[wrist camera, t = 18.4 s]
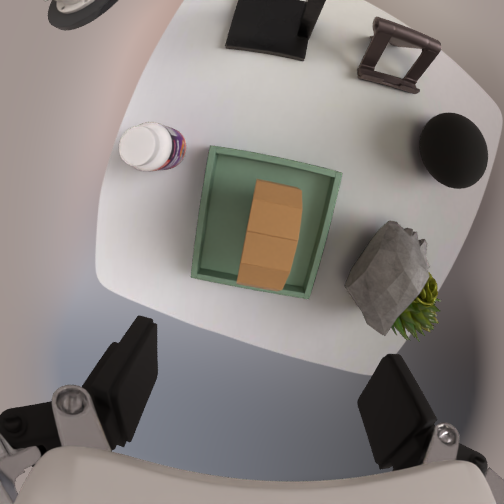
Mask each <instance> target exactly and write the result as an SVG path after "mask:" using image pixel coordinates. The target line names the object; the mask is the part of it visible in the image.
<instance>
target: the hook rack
mask: <svg viewBox="0 0 504 504" xmlns="http://www.w3.org/2000/svg"><path fill="white" fill-rule="evenodd" d="M325 1H326V0H306V2H305V1H300V0H238V3H237V6H236V10H235V13H234V16H233V20H232V23H231V27H230V30H229V34H228V37H227V41H226V45H225V46H226V48H229V49H238V50H246V51H253V52H260V53H266V54H272V55H277V56H282V57H287V58H292V59H297V60H301V61H304V59H305V55H306V49H307V44H308V40H309V38H310V35H311V33H312V31H313V28H314V26H315V24H316V22H317V19H318V17H319V15H320V12H321V10H322V8H323V6H324V3H325Z"/></svg>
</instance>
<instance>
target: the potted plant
mask: <svg viewBox="0 0 504 504" xmlns="http://www.w3.org/2000/svg"><path fill="white" fill-rule="evenodd" d="M426 252H427V242H426V240H425V239H421V240H418V235H417V232H413V229H410V228H405V229H403V228H402V227H401V226H400V225H399V224H398V223H397V222H394V221H388V222H387V223H386V224H385V225H384V226H383V227H382V228H380V229H379V231H378V232H377V233H376V235H375V236H374V237H373V238H372V240H371V241H370V243H369V244H368V246H367V247H366V249H365V250H364V252H363V253H362V255H361V256H360V257H359V259H358V260H357V262H356V263H355V265H354V266H353V268H352V269H351V272H350V274H349V277H348V279H347V281H346V284H345V287H346V289H347V290H348V292H349V293H350V295H351V296H352V298H353V299H354V300H355V302H356V303H357V305H358V306H359V308H360V309H361V311H362V314H363V316H364V318H365V321H366V323H367V324H368V325H369V326H371V327H372V328H373V329H375V330H376V331H377V332H379V333H380V334H382V335H384V336H385V335H386V334H387V333H388V331H389V330H390V328H392V329H393V331H394V333H395V334H396V331H395V328H396V329H397V330H398V331H399V332H400V334H401V335H402V336H403V337H404V338H405V339H406V340H407V339H409V338H408V336H407V335H406V331H405V328H406V329H407V331H408V332H410V333H411V334H412V335H413V336H414V337H416V338H417V339H418V337H417V333H416V330H417V331H418V332H419V333H421V334H423V335H424V333H423V331H422V329H423V330H426V331H428V332H430V329H432V330H433V327H432V326H434V325H432V324H431V323H439V322H438V320H437V319H436V317H435V316H434V315H437V314H436V313H435V312H437V311H440V310H439V309H438V308H437V307H436V306H435V304H434V303H436V302H435V301H440V300H439V299H438V298H436V297H437V295H438V291H437V283H436V281H435V279H434V278H433V277H432V275H431V274H430V273H429V272H428V269H429V267H430V265H429V263H428V261H427V258H426ZM394 327H395V328H394ZM396 335H397V334H396ZM424 336H425V335H424ZM409 340H410V339H409ZM418 341H419V339H418Z"/></svg>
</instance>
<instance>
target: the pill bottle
mask: <svg viewBox="0 0 504 504" xmlns="http://www.w3.org/2000/svg"><path fill="white" fill-rule="evenodd" d="M186 149H187V145H186V141H185V138H184V137H183V135H182V134H181V133H180V132H179V131H177V130H175V129H173V128H170V127H167V126H164V125H161V124H159V123H155V122H146V123H142V124H140V125H138V126H135V127H132V128H130V129H128V130H127V131H126V132H125V133H124V134H123V136H122V137H121V140H120V143H119V153H120V156H121V158H122V160H123V161H124V162H125V163H127V164H129V165H131V166H133V167H134V168H136V169H138V170H140V171H155V170H165V169H171V168H173V167H175V166H177V165H178V164H179V163H180V162H181V161H182V160H183V158H184V157H185V154H186Z"/></svg>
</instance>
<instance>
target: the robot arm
mask: <svg viewBox="0 0 504 504" xmlns="http://www.w3.org/2000/svg"><path fill="white" fill-rule="evenodd" d="M44 1H48V0H44ZM55 1H57V9H58V10H59V11H60V12H62V13H65V14H69V13H74V12H77V11H79V10H81V9H83V8H85V7H86V6H88V5H89V4H91V3H92V2H94V1H95V0H55ZM157 375H158V361H157V324H156V323H153V319H151V318H147V317H143V316H138V317H137V318H136V319H135V321H134V322H133V323H132V325H131V326H130V328H129V329H128V331H127V332H126V333H125V335H124V336H123V338H122V339H121V341H120V342H119V343H117V342H113V343H112V344H111V345H110V346H109V347H108V349H107V350H106V352H105V353H104V355H103V356H102V358H101V359H100V360H99V362H98V363H97V365H96V366H95V368H94V369H93V371H92V372H91V374H90V375H89V377H88V378H87V380H86V381H85V383H84V384H83V386H82V387H80V386H76V385H65V386H62V387H60V388H58V389H57V390H56V391H55V392H54V393H53V396H52V401H51V402H46V403H40V404H35V405H29V406H24V407H17V408H11V409H7V410H5V411H4V412H2V414H1V415H0V504H504V480H503V479H502V478H501V477H500V476H498V475H497V474H496V473H495V472H494V471H493V470H492V469H491V468H488V469H487V461H486V458H485V457H484V456H483V455H482V454H480V453H478V452H476V451H474V450H472V449H470V448H468V447H466V446H464V445H462V444H460V443H459V439H460V436H459V433H458V431H457V430H456V429H455V427H453V426H452V425H451V424H448V423H439V424H438V425H436V426H435V425H434V423H435V422H436V421H437V418H436V416H435V414H434V413H433V411H432V409H431V407H430V405H429V403H428V401H427V400H426V398H425V396H424V394H423V392H422V391H421V389H420V387H419V385H418V384H417V382H416V380H415V378H414V377H413V375H412V373H411V372H410V370H409V368H408V367H407V365H406V363H405V362H404V360H403V358H402V357H401V355H399V354H387V355H386V356H385V357H383V358H382V359H381V361H380V363H379V365H378V367H377V368H376V370H375V372H374V374H373V375H372V377H371V379H370V380H369V382H368V384H367V385H366V387H365V389H364V390H363V392H362V394H361V395H360V397H359V399H358V408H359V411H360V414H361V417H362V420H363V423H364V427H365V430H366V433H367V436H368V439H369V443H370V446H371V449H372V453H373V456H374V459H375V462H376V463H377V464H378V465H379V468H380V469H385V468H390V467H391V466H393V471H392V472H387V473H382V474H376V475H370V476H363V477H356V478H348V479H338V480H326V481H302V482H300V481H295V482H294V481H293V482H292V481H290V482H288V481H260V480H247V479H237V478H229V477H221V476H214V475H208V474H202V473H197V472H191V471H186V470H181V469H177V468H172V467H168V466H164V465H160V464H156V463H152V462H149V461H145V460H141V459H137V458H134V457H130V456H127V455H123V454H119V453H115V452H112V450H114V449H115V448H116V445H119V446H122V447H124V446H125V444H126V441H128V442H131V440H132V438H133V436H134V433H135V431H136V428H137V426H138V423H139V420H140V418H141V416H142V413H143V411H144V408H145V406H146V403H147V401H148V398H149V396H150V394H151V391H152V389H153V386H154V384H155V382H156V379H157ZM30 466H32V467H33V468H32V470H31V471H30V473H29V475H28V476H27V478H26V480H25V482H24V483H23V485H22V487H21V490H20V491H19V494H18V493H17V491H16V488H15V481H16V478H17V477H18V476H19V475H21V474H22V473H24V472H25V471H24V469H26V468H28V467H30Z"/></svg>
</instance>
